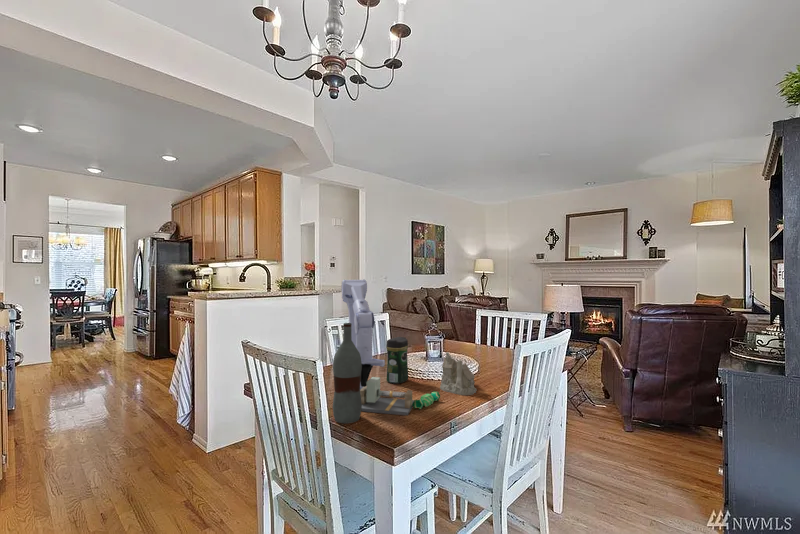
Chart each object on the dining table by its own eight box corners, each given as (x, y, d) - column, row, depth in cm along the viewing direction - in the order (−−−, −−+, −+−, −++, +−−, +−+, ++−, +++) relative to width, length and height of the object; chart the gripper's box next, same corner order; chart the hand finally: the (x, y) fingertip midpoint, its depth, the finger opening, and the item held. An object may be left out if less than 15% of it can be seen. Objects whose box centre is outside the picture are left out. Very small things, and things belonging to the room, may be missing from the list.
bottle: (356, 425, 114) (357, 325, 115) (328, 423, 116) (328, 325, 116) (365, 414, 124) (365, 321, 124) (338, 412, 125) (338, 321, 126)
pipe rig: (355, 410, 126) (355, 393, 127) (366, 399, 138) (366, 383, 138) (407, 415, 122) (407, 398, 122) (415, 403, 134) (415, 387, 134)
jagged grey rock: (464, 397, 140) (464, 355, 142) (432, 388, 152) (432, 350, 154) (489, 391, 151) (489, 352, 152) (457, 383, 163) (457, 348, 164)
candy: (422, 408, 126) (417, 397, 128) (416, 412, 128) (410, 401, 129) (442, 399, 136) (436, 388, 137) (435, 403, 137) (430, 392, 139)
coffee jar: (395, 377, 167) (395, 335, 168) (410, 379, 163) (410, 336, 164) (383, 382, 159) (383, 338, 159) (399, 385, 155) (399, 340, 155)
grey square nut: (366, 401, 129) (366, 381, 129) (372, 396, 135) (372, 376, 135) (374, 402, 128) (374, 382, 128) (380, 396, 134) (380, 377, 134)
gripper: (340, 347, 130) (340, 387, 130) (380, 350, 127) (380, 390, 126) (348, 344, 137) (348, 381, 137) (386, 346, 134) (386, 384, 133)
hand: (364, 385), depth 132 cm, fingers closed
